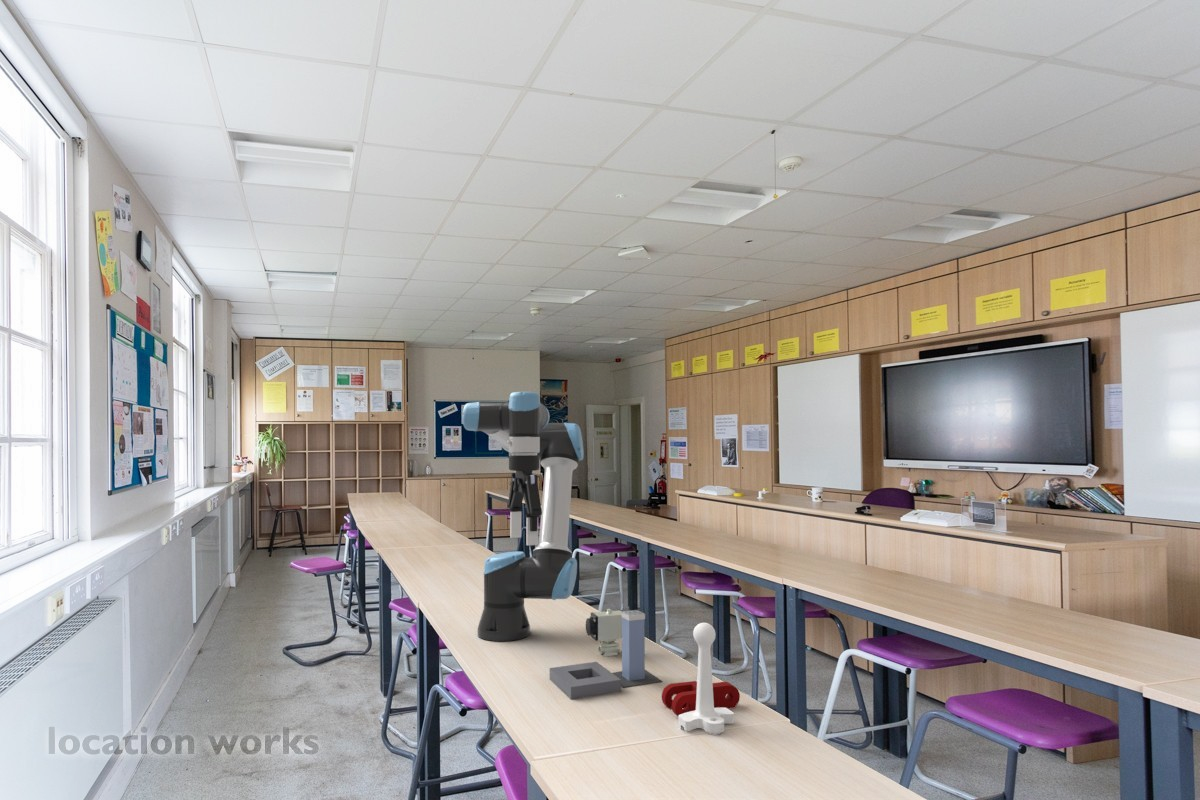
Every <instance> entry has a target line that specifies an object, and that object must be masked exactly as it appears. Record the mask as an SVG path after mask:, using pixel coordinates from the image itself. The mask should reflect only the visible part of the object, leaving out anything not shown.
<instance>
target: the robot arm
mask: <svg viewBox="0 0 1200 800" xmlns="http://www.w3.org/2000/svg"><path fill="white" fill-rule="evenodd" d="M550 417H551V415H550V412H549V410H548V408H547V407H546V406H545V405H544V404H542V403H541V402H540V394H539V393H538V392H534V391H514V392H511V393H510V395H509V401H508V402H507V401H504V402H502V401H501V402H493V401H492V402H490V401H487V402H486V401H485V402H484V401H483V402H481V401H477V402H476V401H475V402H467V403H465V404H464V407H463V409H462V425H463V427H464V429H465V430H466V431H471V432H472V431H473V432H483V433H485V434H486V435H488V436H489V437H491V438H492V439H494V440H495V441H497V442H498V443H499V445H500V447H501V448H502V449H503V450H504V451H506V452H508V453H509V454H511V455H509V456H508V469H509V471H511V475H510V476H511V477H510V478H511V479H510V481H511V482H510V487H509V494H508V501H507V508H508V509H509V512H510V517H509V518H510V522H509V524H510V525H509V528H510V530H509V533H510V534H509V536H510V539H515V538H517V539H518V538H522V512H523V507H522V504H523V500H524V504H525V508H526V512H527V513H526V514H525V516H524V517H525V518H526V522H525V523H526V526H525V527H526V530H525V531H526V532H525V533H526V537H525V538H526V544H525V545H526V546H536V547H535V548H534V549H533V550H532V557H531V556H529V557H526V554H525V552H524V551H517V550H516V551H506V552H502V553H498V554H492V555H490V556H488V557H487V558H485V561H484V568H483V569H484V570H483V609H482V612H481V616H480V619H479V622H478V626H477V637H478V638H480V639H483V640H485V641H493V642H509V641H516V640H521V639H524V638H526V637H528V636H530V634H531V624H530V621H529V618H528V615H527V611H526V609H525V608H526V607H525V599H534V600H536V599H537V600H538V599H539V600H553V601H555V600H566V599H569V598H570V597H571V595H572V594H573V591H574V590H575V589H574V588H575V586H576V585H575V584H576V580H577V572H578V561H577V558H575V557H573V552H572V551H571V550H570V548H569V546H568V545H569V532H570V531H569V529H570V514H571V513H570V512H571V499H572V498H571V497H572V484H573V471H574V470H576V469H577V468H578V467H579V465H578V464H579V461H580V462H581V461H583V460H584V452H585V451H584V441H583V435H582V430H581V427H580V426H579V424H577V423H572V422H569V423H568V422H550ZM540 465H541V467H543V469H544V473H543V474H544V475H543V487H542V500H541V499H540V497H541V496H540V491H539V490H540V489H539V484H538V483H539V481H538V478H539V477H538V475H537V474H533V471H538V470H540ZM539 517H540V523H539ZM539 524H540V525H539Z"/></svg>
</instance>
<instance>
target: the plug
mask: <svg viewBox="0 0 1200 800" xmlns="http://www.w3.org/2000/svg"><path fill="white" fill-rule="evenodd" d="M621 617H622V639H621V657H622V658H621V671H622V676H623V677H625V678H626V679H627V680H629V681H632V680H639V679H645V670H646V668H645V667H646V665H645V664H646V663H645V657H646V656H645V651H646V650H645V648H646V647H645V643H646V641H645V638H646V637H645V631H646V630H645V622H646V621H645V620H646V613H644V612H643V611H640V610H638V609H634V610H633V609H632V610H626V611H624V610H623V612H621Z"/></svg>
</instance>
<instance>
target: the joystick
mask: <svg viewBox="0 0 1200 800" xmlns="http://www.w3.org/2000/svg"><path fill="white" fill-rule="evenodd" d="M692 633H693V634H692V635H693V636H692V637H693V639H694V641H695V642H696V644H697V646H698V651H697V653H698V654H697V657H698V658H697V675H696V676H697V678H696V679H697V680H696V681H697V694H696V710H694V711H690V712H686V713H683V714H680V715H678V716H677V719H678V720H677V721H678V726H677V727H678V729H680V730H683V731H686V732H691V731H693V730H695V729H702V730H704V731H705V732H706V733H707V734H710V735H714V734H716V735H720V733H721V734H722V733H723V732H725V724H734V723H735V713H734V711H732V710H730V708H729V709H727V708H724V707H722V708H714V700H713V684H712V683H713V672H712V671H713V669H712V668H713V667H712V656H711V655H712V653H711V646H712V644H713V643H714V642H715V640H716V630H715V628H714V627H713V625H711V624H710V623H708V622H700V623H698V624H697V625H696V626H694V628H693V632H692Z"/></svg>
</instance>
